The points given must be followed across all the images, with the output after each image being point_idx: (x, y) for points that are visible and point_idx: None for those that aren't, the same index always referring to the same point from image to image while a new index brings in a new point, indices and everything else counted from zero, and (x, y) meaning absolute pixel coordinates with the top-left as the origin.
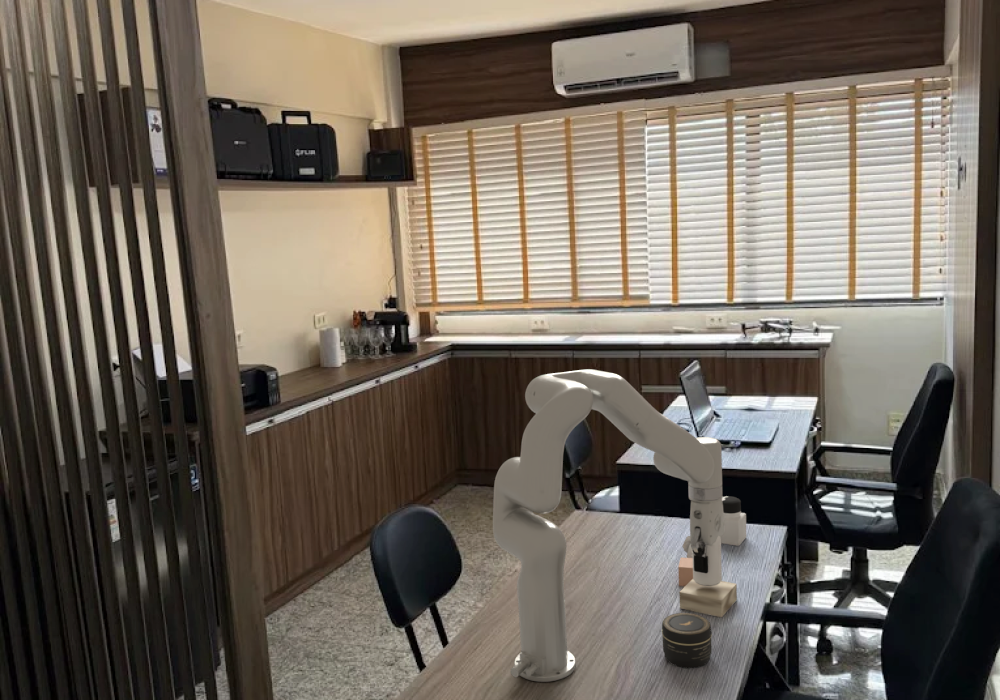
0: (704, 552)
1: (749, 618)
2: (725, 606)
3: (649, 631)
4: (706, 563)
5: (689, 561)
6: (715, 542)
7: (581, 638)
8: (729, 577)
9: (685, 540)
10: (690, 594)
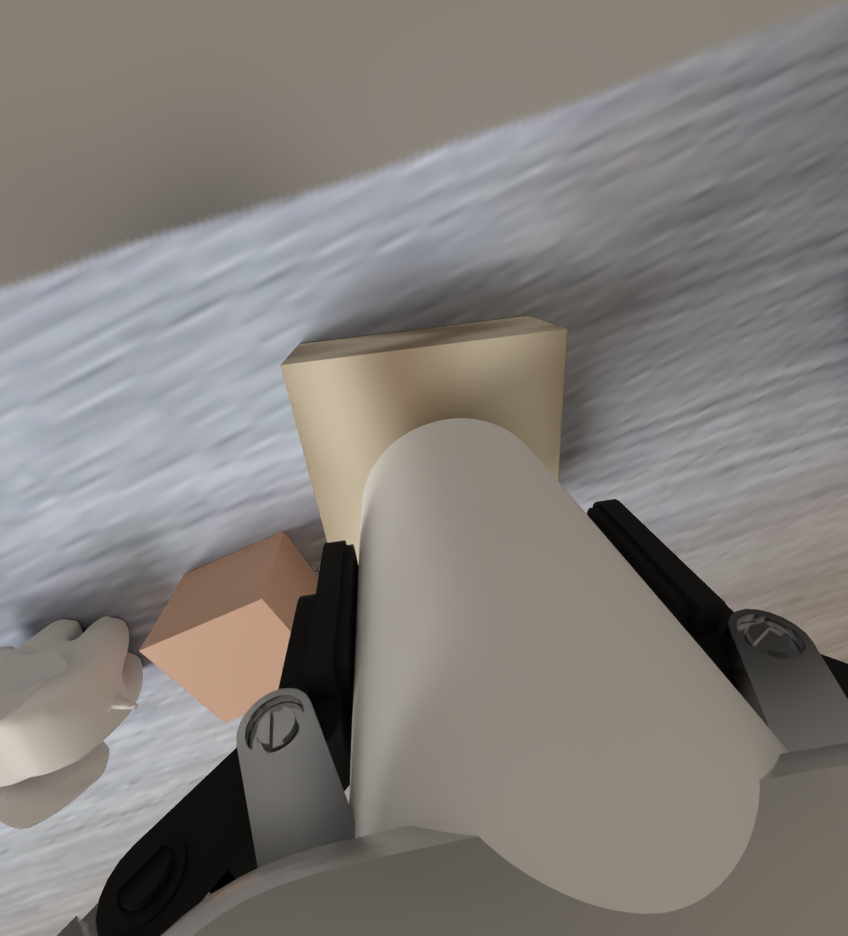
0: (822, 668)
1: (467, 167)
2: (480, 327)
3: (742, 493)
4: (668, 555)
5: (235, 679)
6: (750, 755)
7: (824, 608)
8: (88, 498)
9: (62, 804)
10: None
